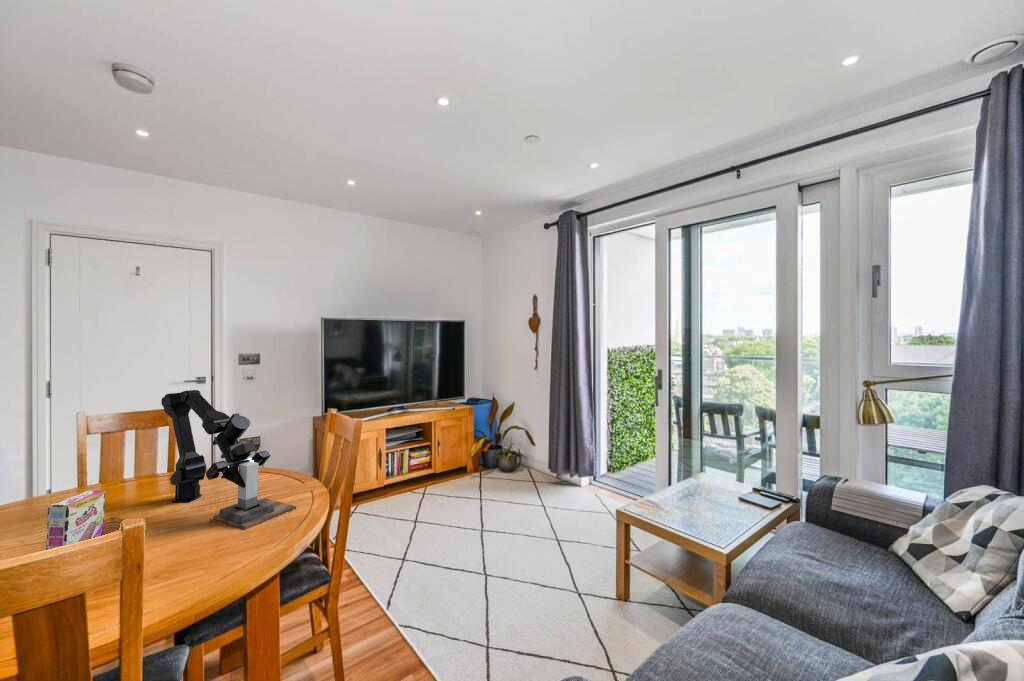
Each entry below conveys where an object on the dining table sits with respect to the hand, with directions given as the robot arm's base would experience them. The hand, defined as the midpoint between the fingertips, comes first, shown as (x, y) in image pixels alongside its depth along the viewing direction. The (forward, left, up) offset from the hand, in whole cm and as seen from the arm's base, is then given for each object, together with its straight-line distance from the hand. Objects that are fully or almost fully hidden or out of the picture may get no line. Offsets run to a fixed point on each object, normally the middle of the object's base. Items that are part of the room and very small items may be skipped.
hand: (250, 485), depth 140 cm
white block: (-1, +1, -7) cm, 7 cm away
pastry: (-34, -12, -11) cm, 38 cm away
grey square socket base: (0, +3, -11) cm, 11 cm away
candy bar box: (-29, -27, -11) cm, 42 cm away
